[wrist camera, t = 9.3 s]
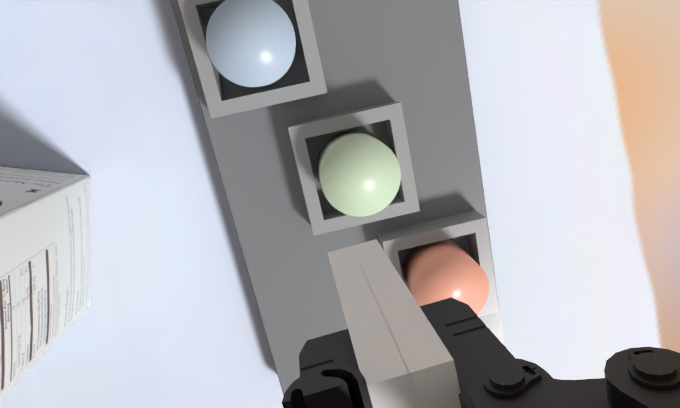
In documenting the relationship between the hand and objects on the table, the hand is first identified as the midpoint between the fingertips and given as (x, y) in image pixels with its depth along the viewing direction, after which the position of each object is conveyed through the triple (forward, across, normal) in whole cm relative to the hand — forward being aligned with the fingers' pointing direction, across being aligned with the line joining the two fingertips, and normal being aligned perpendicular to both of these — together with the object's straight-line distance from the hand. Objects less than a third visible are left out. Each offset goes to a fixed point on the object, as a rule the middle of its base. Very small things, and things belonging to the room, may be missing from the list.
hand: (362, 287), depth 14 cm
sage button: (+16, +2, +1) cm, 16 cm away
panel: (+18, +2, +1) cm, 18 cm away
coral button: (+16, +6, -7) cm, 18 cm away
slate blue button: (+16, -1, +9) cm, 18 cm away
